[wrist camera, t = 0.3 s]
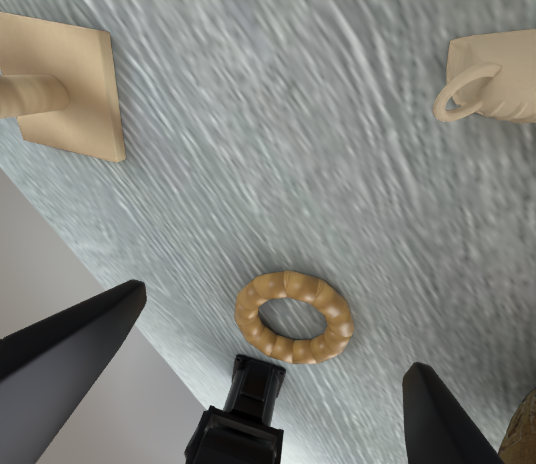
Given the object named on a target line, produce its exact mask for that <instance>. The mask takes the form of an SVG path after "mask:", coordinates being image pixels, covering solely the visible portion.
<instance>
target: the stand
mask: <svg viewBox="0 0 536 464" xmlns="http://www.w3.org/2000/svg"><path fill="white" fill-rule="evenodd" d="M0 69H1V72H2V75H0V119H2V118H9V117H16V118H17V121H18V124H19V127H20V130H21V133H22V136H23V139H24V140H26V141H30V142H34V143H38V144H42V145H47V146H51V147H55V148H59V149H63V150H67V151H71V152H75V153H79V154H83V155H88V156H92V157H96V158H100V159H104V160H108V161H112V162H116V163H117V162H120V161H122V160H125V159H126V154H125V146H124V139H123V131H122V123H121V116H120V108H119V100H118V93H117V85H116V78H115V70H114V62H113V55H112V47H111V39H110V33H109V32H107V31H102V30H97V29H91V28H86V27H81V26H75V25H70V24H65V23H59V22H54V21H49V20H43V19H38V18H33V17H27V16H22V15H17V14H11V13H6V12H1V11H0Z"/></svg>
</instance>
